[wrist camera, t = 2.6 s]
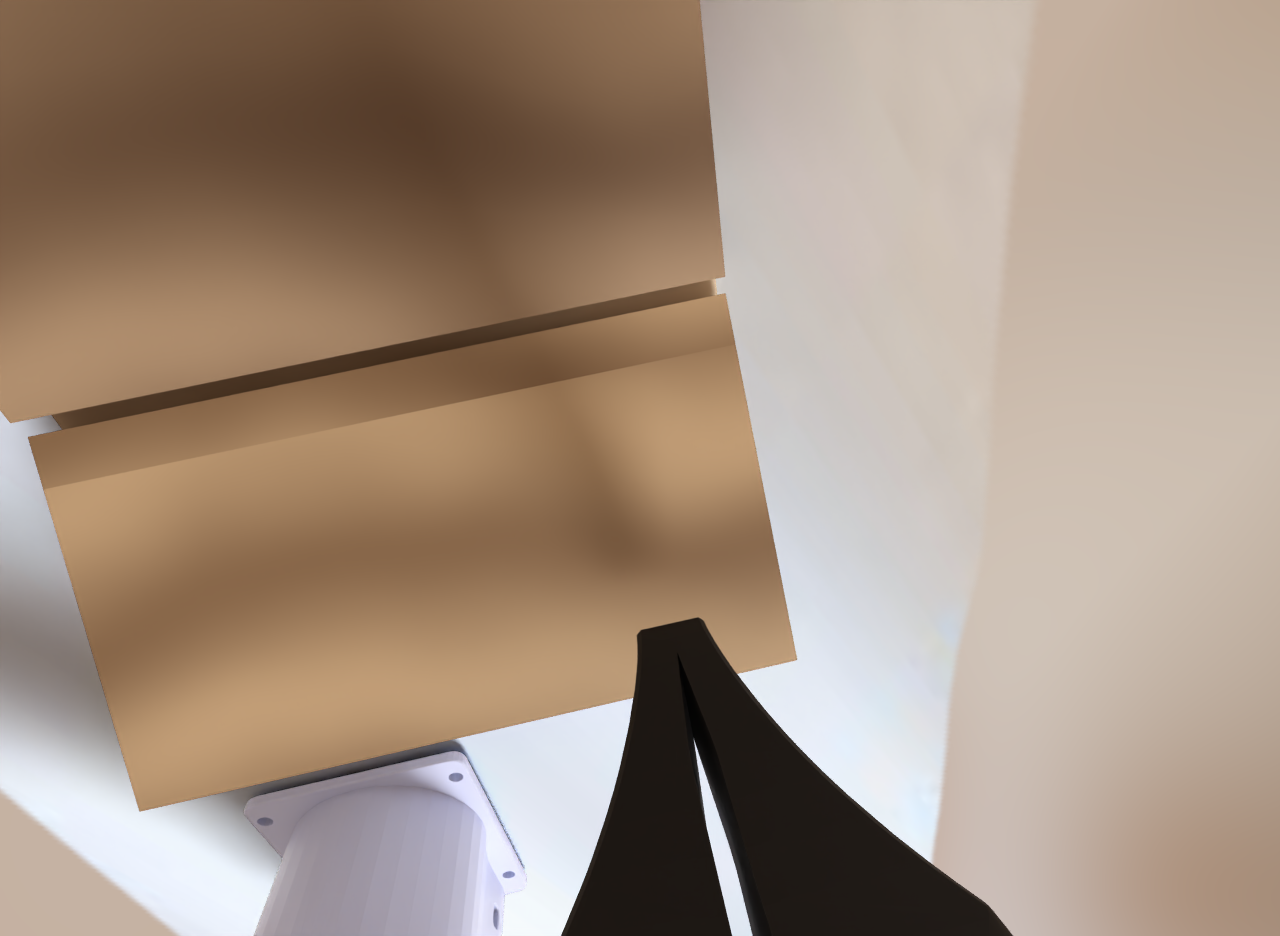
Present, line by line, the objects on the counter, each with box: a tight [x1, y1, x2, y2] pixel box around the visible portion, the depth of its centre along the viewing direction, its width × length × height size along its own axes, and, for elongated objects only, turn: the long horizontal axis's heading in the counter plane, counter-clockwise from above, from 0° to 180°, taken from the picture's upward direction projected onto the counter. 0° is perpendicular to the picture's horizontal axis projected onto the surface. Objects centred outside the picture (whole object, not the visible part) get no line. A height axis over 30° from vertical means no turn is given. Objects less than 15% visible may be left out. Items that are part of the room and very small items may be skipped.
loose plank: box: [28, 294, 797, 811], centre depth 14 cm, size 9×16×1 cm, turn 99°
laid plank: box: [0, 0, 725, 430], centre depth 12 cm, size 9×16×1 cm, turn 100°
